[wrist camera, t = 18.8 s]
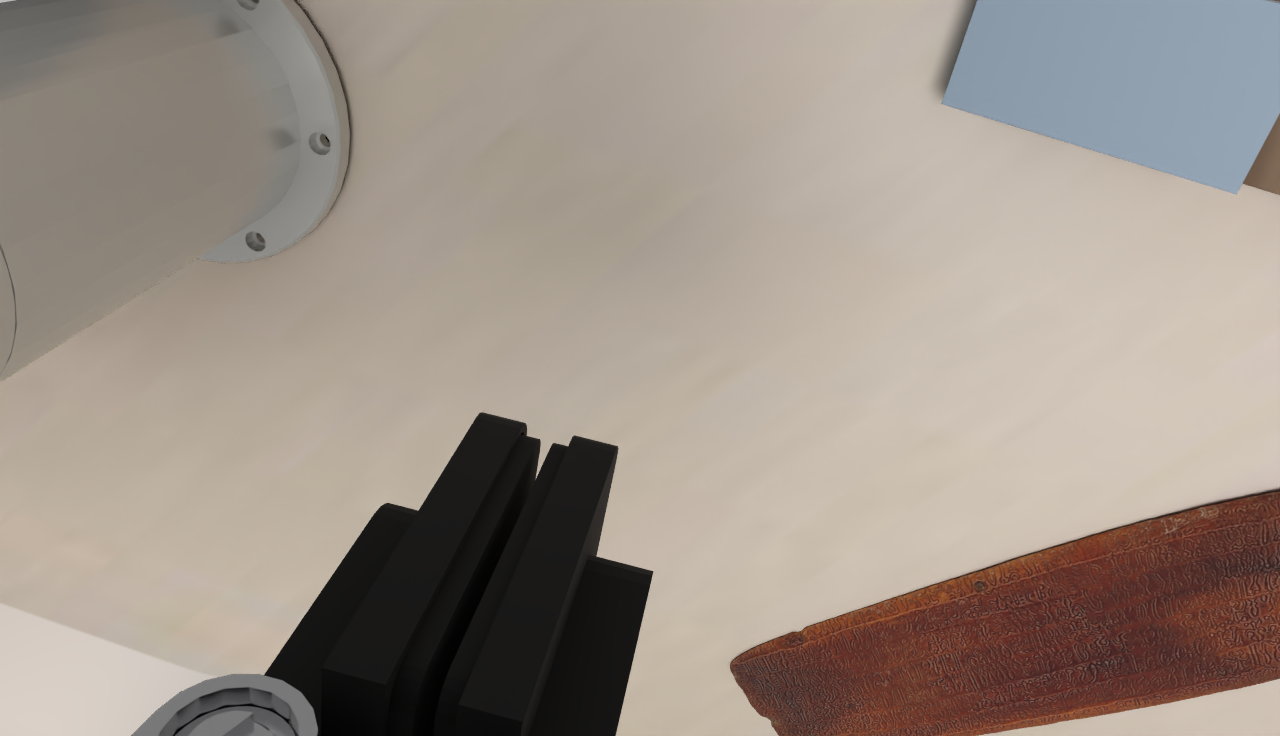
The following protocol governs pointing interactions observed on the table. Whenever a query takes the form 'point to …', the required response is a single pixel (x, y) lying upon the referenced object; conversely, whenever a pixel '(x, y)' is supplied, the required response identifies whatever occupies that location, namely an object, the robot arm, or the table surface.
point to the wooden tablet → (1043, 635)
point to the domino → (1130, 78)
